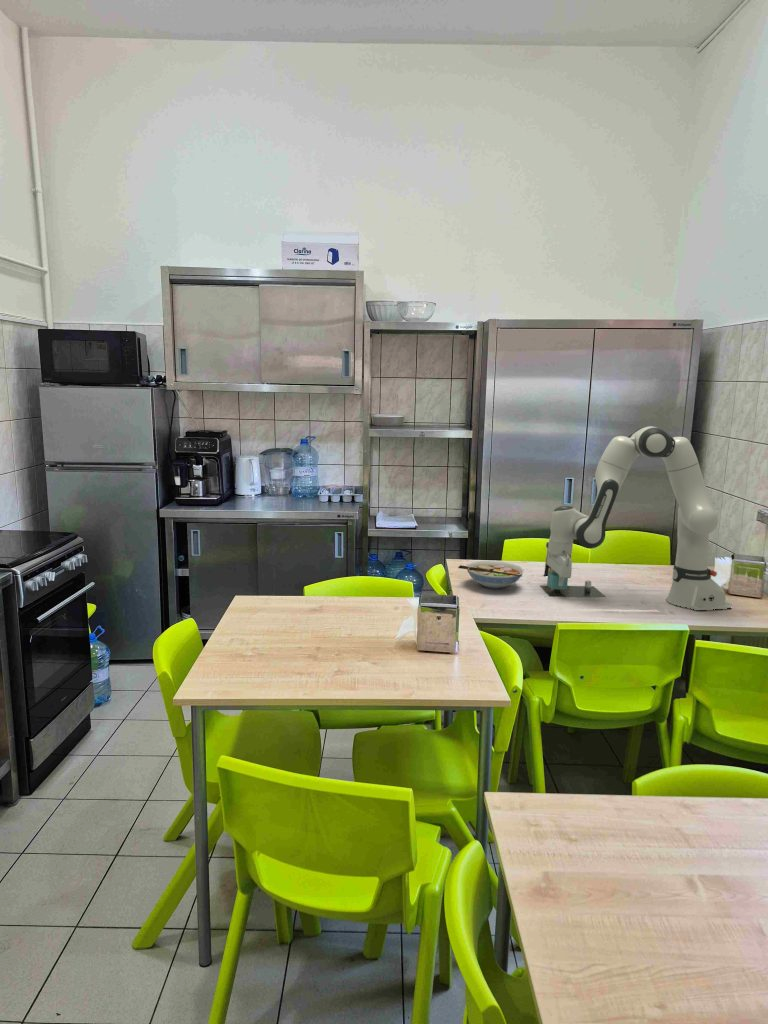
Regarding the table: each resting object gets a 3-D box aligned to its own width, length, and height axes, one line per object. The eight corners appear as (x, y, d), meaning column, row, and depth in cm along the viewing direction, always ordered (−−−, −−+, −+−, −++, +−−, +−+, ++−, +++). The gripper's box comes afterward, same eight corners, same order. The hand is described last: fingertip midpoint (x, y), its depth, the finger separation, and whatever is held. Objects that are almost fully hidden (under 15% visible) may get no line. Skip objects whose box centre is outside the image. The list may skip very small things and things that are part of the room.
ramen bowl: (531, 583, 275) (532, 564, 274) (517, 599, 255) (519, 578, 253) (472, 574, 285) (473, 555, 284) (454, 588, 265) (455, 568, 264)
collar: (562, 584, 266) (563, 572, 265) (566, 589, 260) (568, 576, 259) (547, 584, 265) (548, 572, 264) (551, 589, 260) (552, 576, 259)
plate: (593, 588, 271) (595, 571, 270) (606, 599, 257) (608, 581, 256) (539, 587, 270) (540, 570, 268) (549, 599, 256) (550, 580, 255)
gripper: (577, 555, 250) (574, 591, 252) (560, 542, 270) (557, 575, 272) (560, 554, 249) (557, 590, 252) (544, 541, 269) (542, 575, 272)
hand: (557, 582), depth 262 cm, fingers closed on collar, 6 cm apart
